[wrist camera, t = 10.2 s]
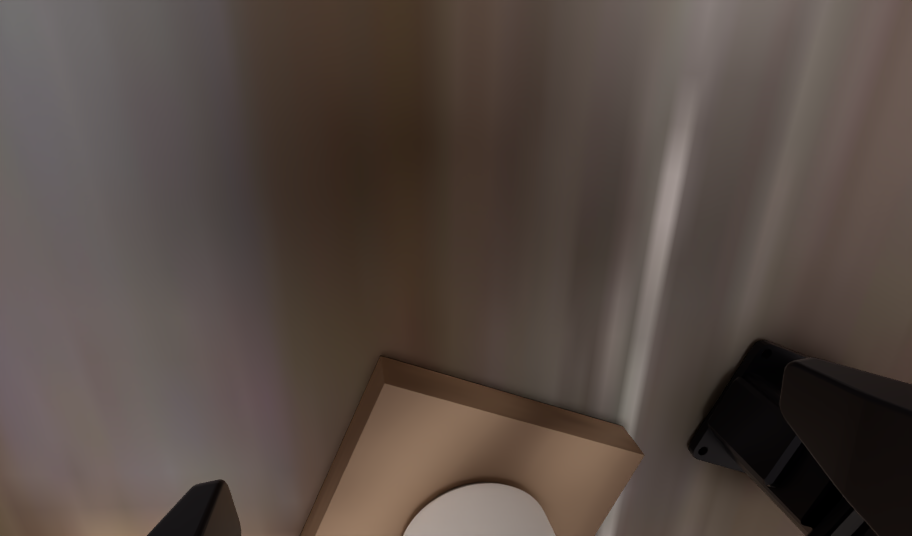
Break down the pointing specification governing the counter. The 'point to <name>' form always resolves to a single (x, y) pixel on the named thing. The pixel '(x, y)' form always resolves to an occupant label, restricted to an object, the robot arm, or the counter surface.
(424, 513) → the can
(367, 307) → the counter surface
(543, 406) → the base
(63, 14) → the counter surface
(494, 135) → the counter surface
